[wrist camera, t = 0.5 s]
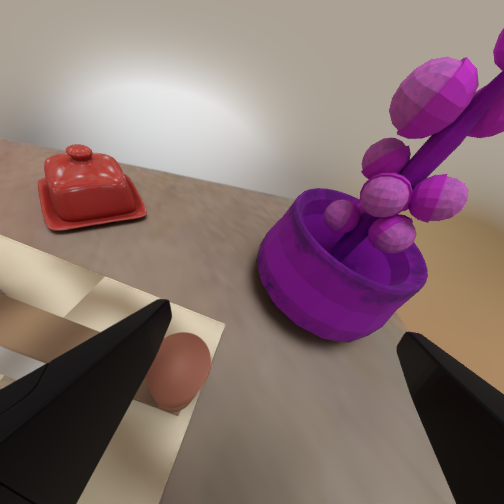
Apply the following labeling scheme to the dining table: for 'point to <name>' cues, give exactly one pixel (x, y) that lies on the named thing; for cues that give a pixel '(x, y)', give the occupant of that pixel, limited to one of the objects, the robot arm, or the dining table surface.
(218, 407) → the dining table surface
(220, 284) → the dining table surface
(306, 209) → the decorative plant
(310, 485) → the dining table surface
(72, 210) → the butter dish
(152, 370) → the lever
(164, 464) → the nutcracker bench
